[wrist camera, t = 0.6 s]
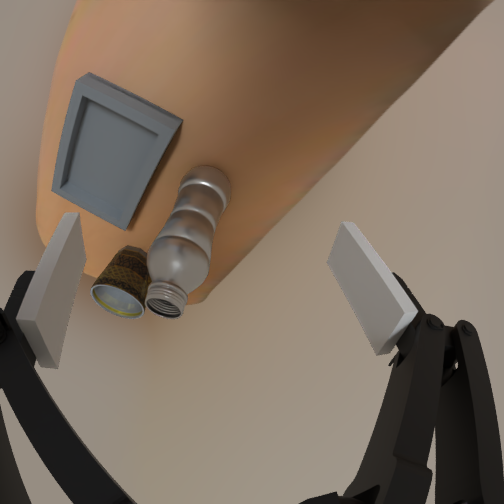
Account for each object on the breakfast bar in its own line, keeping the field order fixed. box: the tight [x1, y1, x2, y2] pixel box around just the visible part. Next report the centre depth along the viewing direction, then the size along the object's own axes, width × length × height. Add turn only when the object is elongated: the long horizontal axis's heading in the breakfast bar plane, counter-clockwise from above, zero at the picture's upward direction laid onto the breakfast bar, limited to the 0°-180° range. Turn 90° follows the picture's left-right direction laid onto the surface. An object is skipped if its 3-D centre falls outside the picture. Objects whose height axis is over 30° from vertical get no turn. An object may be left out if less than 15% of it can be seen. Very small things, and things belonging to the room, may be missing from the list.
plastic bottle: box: [145, 166, 231, 319], centre depth 35 cm, size 6×7×20 cm
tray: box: [52, 72, 183, 231], centre depth 39 cm, size 20×14×3 cm
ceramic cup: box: [90, 246, 152, 319], centre depth 53 cm, size 13×10×10 cm
